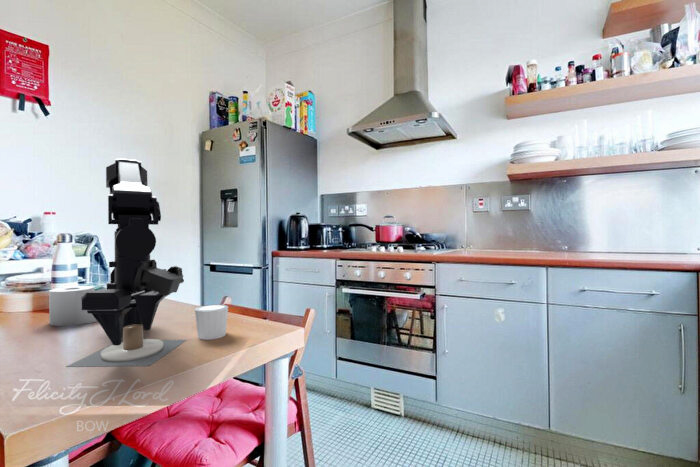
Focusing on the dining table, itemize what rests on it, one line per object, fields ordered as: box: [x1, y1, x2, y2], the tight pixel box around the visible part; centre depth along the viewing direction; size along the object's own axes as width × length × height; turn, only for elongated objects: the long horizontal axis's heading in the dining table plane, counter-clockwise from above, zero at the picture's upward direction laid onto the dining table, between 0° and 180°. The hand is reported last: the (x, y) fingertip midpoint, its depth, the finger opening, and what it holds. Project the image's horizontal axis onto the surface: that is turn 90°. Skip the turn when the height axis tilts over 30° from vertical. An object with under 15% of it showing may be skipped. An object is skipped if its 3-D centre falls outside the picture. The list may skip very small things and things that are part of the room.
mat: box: [65, 339, 187, 368], centre depth 65 cm, size 14×14×1 cm
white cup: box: [194, 304, 229, 341], centre depth 75 cm, size 7×7×7 cm
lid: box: [101, 324, 163, 362], centre depth 65 cm, size 10×10×5 cm
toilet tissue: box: [48, 285, 98, 327], centre depth 91 cm, size 9×13×9 cm
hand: (133, 337), depth 65 cm, fingers open, 9 cm apart
